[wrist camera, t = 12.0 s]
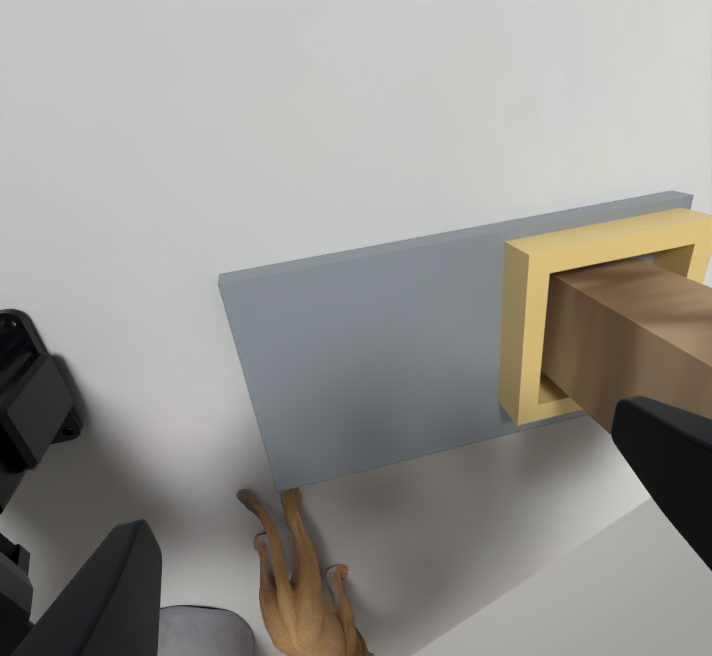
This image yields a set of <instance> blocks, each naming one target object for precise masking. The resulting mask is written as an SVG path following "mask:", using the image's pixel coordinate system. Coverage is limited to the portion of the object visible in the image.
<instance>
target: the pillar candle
mask: <svg viewBox="0 0 712 656" xmlns="http://www.w3.org/2000/svg"><path fill="white" fill-rule="evenodd" d="M157 656H254V641H253V634H252V631H251V629H250V627H249V626H248V624H247V622H246V621H245V620H244V619H242V618H241V617H240V616H238V615H237V614H236V613H234V612H231V611H228V610H223V609H206V608H197V607H187V606H174V607H167V608H162V609H160V618H159V639H158V654H157Z"/></svg>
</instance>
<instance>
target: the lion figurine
mask: <svg viewBox="0 0 712 656" xmlns="http://www.w3.org/2000/svg"><path fill="white" fill-rule="evenodd" d="M236 496H237V498H238V499H239V500H240V501H241V502H242V503H243V504H244V505H245V506H246V508H247V509H248V510H250V511H252V512H253V513H254V514H255V515H257V517H258V518H259V519H260V520H261V522H262V524H263V526H264V528H265V531H266V534H261V535H259V536H257V537H256V538H255V539H254V549H255V550H256V551H258V554H259V556H260V589H259V601H260V607H261V612H262V617H263V621H264V624H265V627H266V629H267V631H268V633H269V635H270V637H271V639H272V642H273V644H274V646H275V647H276V648H277V649H278V650H280V651H281V652H283V653H285V654H287V656H374V654H373V653H369V652H368V650H367V646H366V643H365V641H364V639H363V637H362V636H361V634H360V632H359V631H358V630H357V628H356V627H355V625H354V618H353V613H352V608H351V605H350V602H349V599H348V597H347V595H346V593H345V590H344V587H343V584H342V581H343V580H344V578H346V577H347V572H348V568H347V566H345V565H335V566H333V567H331V568H330V569H329V570H328V571H327V585H328V588H329V590H330V593H331V595H332V599H333V604H334V610H332V608H331V607H330V605H329V604H328V602H327V601H326V600H325V599H324V598H323V592H322V582H321V577H320V571H319V564H318V560H317V556H316V553H315V550H314V547H313V544H312V542H311V539H310V537H309V535H308V533H307V531H306V529H305V527H304V524H303V522H302V519H301V515H300V513H299V511H298V508H297V506H298V505H299V504H300V502H301V498H302V495H301V492H300V491H299V490H298V489H297V488H293V489H289V490H286V491H284V492H283V493H282V494H281V503H282V506H283V509H284V515H285V520H286V523H287V525H288V527H289V529H290V531H291V533H292V536H293V539H294V545H295V564H294V570H293V575H292V578H291V581H290V582H289V579H288V574H287V569H286V564H285V560H284V555H283V551H282V547H281V544H280V540H279V537H278V533H277V530H276V528H275V526H274V523H273V521H272V519H271V518H270V516H269V514H268V513H267V512H266V510H265V509H264V508H263V507H262V506H261V504H260V503H259V502H258V500H257V499H256V497H255V495H254V494H253V493H251V492H248V491H246V490H240V491H238V492H237V494H236Z"/></svg>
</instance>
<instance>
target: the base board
mask: <svg viewBox="0 0 712 656" xmlns="http://www.w3.org/2000/svg"><path fill="white" fill-rule="evenodd" d="M692 200H693V195H690V194H686V193H681V192H676V191H668V192H662V193H657V194H651V195H646V196H641V197H635V198H630V199H624V200H619V201H614V202H608V203H603V204H597V205H592V206H587V207H581V208H576V209H570V210H565V211H559V212H554V213H549V214H543V215H538V216H532V217H527V218H522V219H516V220H511V221H505V222H500V223H495V224H489V225H484V226H478V227H473V228H467V229H462V230H457V231H451V232H446V233H440V234H435V235H430V236H424V237H419V238H413V239H408V240H403V241H397V242H392V243H386V244H381V245H375V246H370V247H365V248H359V249H354V250H348V251H343V252H338V253H332V254H327V255H321V256H316V257H311V258H305V259H300V260H294V261H289V262H283V263H278V264H273V265H267V266H262V267H256V268H251V269H246V270H240V271H235V272H229V273H224V274H220V275H219V281H218V287H219V290H220V294H221V297H222V300H223V304H224V307H225V311H226V314H227V318H228V321H229V325H230V328H231V332H232V335H233V339H234V342H235V346H236V349H237V353H238V356H239V360H240V363H241V366H242V370H243V373H244V377H245V380H246V384H247V387H248V391H249V394H250V398H251V401H252V405H253V408H254V412H255V415H256V419H257V422H258V426H259V429H260V433H261V436H262V439H263V443H264V446H265V450H266V453H267V457H268V460H269V464H270V467H271V471H272V474H273V478H274V481H275V485H276V488H277V492H281V491H285V490H289V489H293V488H297V487H301V486H305V485H309V484H313V483H317V482H321V481H325V480H329V479H333V478H337V477H341V476H345V475H349V474H353V473H357V472H361V471H365V470H369V469H373V468H377V467H381V466H385V465H388V464H392V463H396V462H400V461H404V460H408V459H412V458H416V457H420V456H424V455H428V454H432V453H436V452H440V451H444V450H448V449H452V448H456V447H460V446H464V445H468V444H472V443H476V442H480V441H484V440H488V439H492V438H496V437H500V436H504V435H508V434H512V433H516V432H519V431H523V430H527V429H531V428H535V427H539V426H543V425H547V424H551V423H555V422H559V421H563V420H567V419H571V418H575V417H579V416H583V415H587V414H588V413H587V412H586V411H585V410H583V409H582V408H581V407H580V406H579V405H578V404H577V403H576V402H575V401H574V400H573V399H572V398H570V397H569V396H568V395H567V394H566V393H565V392H564V391H563V390H562V389H561V388H560V387H559V386H557V385H556V384H555V383H554V382H553V381H552V380H551V379H550V378H549V377H548V376H547V375H546V374H544V373H543V372H542V371H541V362H542V351H543V340H544V329H545V318H546V308H547V297H548V286H549V275H550V273H554V272H559V271H564V270H569V269H573V268H578V267H583V266H588V265H593V264H598V263H604V262H611V261H619V260H626V259H633V258H639V259H641V260H644V261H646V262H649V263H651V264H654V265H656V266H659V267H661V268H663V269H666V270H668V271H671V272H673V273H676V274H678V275H681V276H683V277H686V278H688V279H691V280H693V281H696V282H698V283H700V284H703V281H704V278H705V274H706V270H707V267H708V263H709V259H710V256H711V252H712V215H709V214H705V213H701V212H697V211H693V210H690V208H691V204H692Z"/></svg>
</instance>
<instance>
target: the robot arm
mask: <svg viewBox="0 0 712 656" xmlns="http://www.w3.org/2000/svg"><path fill="white" fill-rule="evenodd" d="M6 319H11V320H13V321H14V322H15V323H16V326H12V325H10V324H8V323H7V322H6ZM73 404H74V400H73V398H72V396H71V394H70V392H69V390H68V388H67V386H66V384H65V382H64V380H63V379H62V377H61V375H60V373H59V371H58V369H57V367H56V365H55V363H54V361H53V359H52V358H51V356H49V355H48V354H47V353H45V352H44V350H43V348H42V346H41V344H40V342H39V340H38V338H37V336H36V335H35V333H34V331H33V329H32V327H31V325H30V323H29V321H28V319H27V318H26V316H25V315H24V314H23V313H22V312H20V311H18V310H15V309H5V310H0V514H2V512H3V510H4V509H5V507H6V505H7V504H8V502H9V500H10V499H11V497H12V495H13V494H14V492H15V490H16V489H17V487H18V485H19V484H20V482H21V480H22V478H23V477H24V475H25V473H26V472H27V471H30V470H34V469H35V468H36V467H37V466H38V464H39V463H40V461H41V459H42V458H43V456H44V454H45V452H46V451H47V449H48V447H49V445H50V444H55V443H59V442H64V441H68V440H73V439H75V438H77V437H78V436H79V435H80V433H81V431H82V428H83V424H82V422H81V420H80V418H79V416H78V414H77V412H76V410H75V408H74V407H73ZM65 427H71V428H72V429H73V430H68V429H66V428H65ZM611 436H612V439H613V442H614V443H615V445H616V447H617V448H618V449H619V451H620V452H621V454H622V455H623V457H624V458H625V459H626V461H627V462H628V464H629V465H630V467H631V468H632V470H633V471H634V472H635V474H636V475H637V477H638V478H639V480H640V481H641V482H642V484H643V485H644V487H645V488H646V490H647V491H648V493H649V494H650V495H651V497H652V498H653V500H654V501H655V502H656V504H657V505H658V506H659V508H660V509H661V511H662V512H663V513H664V514H665V516H666V517H667V518H668V519H669V521H670V522H671V523H672V524H673V526H674V527H675V528H676V529H677V530H678V532H679V533H680V534H681V535H682V536H683V537H684V539H685V540H686V541H687V542H688V543H689V545H690V546H691V547H692V548H693V549H694V551H695V552H696V553H697V554H698V555H699V556H700V558H701V559H702V560H703V561H704V563H705V564H706V565H707V566H708V567H709V568H710V570H711V571H712V419H710V418H707V417H704V416H701V415H698V414H695V413H692V412H689V411H686V410H683V409H680V408H677V407H674V406H671V405H669V404H666V403H663V402H660V401H657V400H654V399H651V398H648V397H645V396H642V395H635V396H631V397H627V398H623V399H620V400H619V401H618V402H617V403H616V407H615V412H614V417H613V422H612V427H611ZM29 560H30V553H29V552H28V551H27V550H26V549H24V548H23V547H22V546H21V545H19V544H17V545H14V544H13V543H12V542H11V541H9V540H8V539H7V538H6V537H5V536H3V535H2V534H1V533H0V656H157V654H158V639H159V618H160V596H161V575H162V554H161V550H160V547H159V545H158V543H157V541H156V539H155V537H154V535H153V533H152V531H151V529H150V527H149V525H148V523H147V522H146V520H144V519H142V518H139V519H134V520H130V521H126V522H122V523H120V524H118V525H117V526H115V527H114V528H113V530H112V531H111V532H110V533H109V535H108V536H107V537H106V538H105V540H104V541H103V542H102V543H101V544H100V546H99V547H98V548H97V549H96V551H95V552H94V553H93V554H92V556H91V557H90V558H89V559H88V560H87V562H86V563H85V564H84V565H83V567H82V568H81V569H80V570H79V572H78V573H77V574H76V575H75V576H74V578H73V579H72V580H71V581H70V583H69V584H68V585H67V586H66V588H65V589H64V590H63V591H62V592H61V594H60V595H59V596H58V597H57V599H56V600H55V601H54V602H53V604H52V605H51V606H50V607H49V608H48V610H47V611H46V612H45V613H44V615H43V616H42V617H41V618H40V620H39V621H38V622H37V623H36V625H34V623H33V622H31V621H30V620H29V618H30V614H31V606H32V597H33V587H32V584H31V582H30V580H29V578H28V571H29Z"/></svg>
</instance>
